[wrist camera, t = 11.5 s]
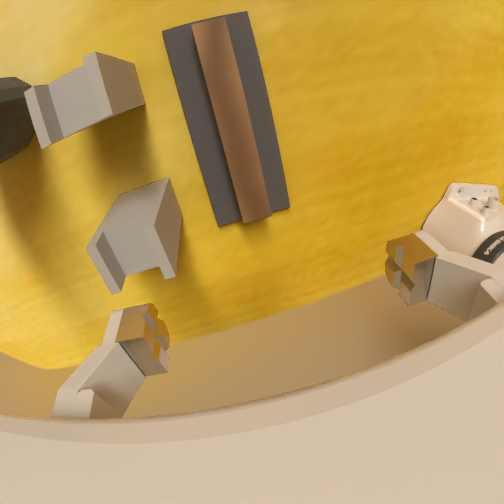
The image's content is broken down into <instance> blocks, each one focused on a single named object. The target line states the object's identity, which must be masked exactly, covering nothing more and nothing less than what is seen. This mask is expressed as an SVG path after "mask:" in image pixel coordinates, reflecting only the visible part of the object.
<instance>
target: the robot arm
mask: <svg viewBox="0 0 504 504" xmlns="http://www.w3.org/2000/svg"><path fill="white" fill-rule="evenodd" d="M386 252H387V253H388V255H389V257H388V258H387V260H386V262H385V272H386V277H387V279H388V281H389V283H390V284H391V285H392V286H393V287H395V288H397V289H399V296H400V297H401V298H402V300H403V301H404V302H405V304H406V305H407V306H411V305H414V304H416V303H419V302H422V301H424V300H427V301H429V302H431V303H432V304H434V305H436V306H438V307H440V308H442V309H443V310H445V311H447V312H449V313H451V314H452V315H454V316H456V317H458V318H460V319H461V320H463V321H465V322H466V323H464V324H462V325H460V326H458V327H456V328H455V329H453V330H451V331H449V332H447V333H445V334H443V335H441V336H439V337H437V338H435V339H432V340H431V341H428V342H426V343H424V344H422V345H420V346H417V347H415V348H413V349H411V350H408V351H406V352H404V353H401V354H399V355H397V356H394V357H392V358H389V359H387V360H385V361H382V362H379V363H377V364H374V365H372V366H369V367H366V368H364V369H361V370H358V371H355V372H352V373H349V374H347V375H344V376H341V377H338V378H335V379H331V380H328V381H325V382H322V383H319V384H315V385H312V386H309V387H305V388H302V389H298V390H295V391H291V392H287V393H283V394H279V395H275V396H271V397H267V398H262V399H258V400H253V401H249V402H244V403H239V404H234V405H229V406H223V407H218V408H212V409H205V410H199V411H192V412H185V413H176V414H167V415H159V416H147V417H134V418H122V416H123V415H124V413H125V411H126V410H127V408H128V406H129V405H130V403H131V401H132V400H133V398H134V396H135V394H136V393H137V391H138V390H139V388H140V386H141V384H142V383H143V381H144V380H145V376H150V375H156V374H161V373H167V372H168V358H169V357H168V355H167V354H166V350H167V349H168V348H169V342H170V339H169V333H168V330H167V327H166V325H165V323H164V321H163V320H161V319H159V318H157V315H158V311H157V309H156V307H155V306H154V304H151V303H149V304H144V305H139V306H134V307H129V308H125V309H120V310H116V311H113V312H112V313H111V315H110V318H109V321H108V325H107V328H106V331H105V335H104V338H103V342H102V345H99V346H97V347H96V348H95V350H94V351H93V352H92V353H91V354H90V355H89V356H88V357H87V358H86V359H85V360H84V362H83V363H82V364H81V365H80V366H79V367H78V368H77V369H76V371H75V372H74V373H73V374H72V375H71V376H70V377H69V378H68V380H67V381H66V382H65V383H64V384H63V385H62V386H61V387H60V389H59V390H58V393H57V397H56V401H55V404H54V408H53V412H52V416H51V418H44V417H31V416H21V415H12V414H5V413H0V504H504V205H502V204H501V203H500V197H499V190H498V188H497V187H496V186H495V185H486V184H472V183H451V184H450V185H449V187H448V189H447V191H446V193H445V195H444V197H443V199H442V200H441V201H440V202H439V203H438V205H437V206H436V207H435V208H434V209H433V210H432V212H431V213H430V215H429V216H428V218H427V219H426V221H425V223H424V225H423V228H422V230H420V231H417V232H414V233H411V234H410V235H407V236H403V237H400V238H397V239H393V240H390V241H388V242H387V245H386Z"/></svg>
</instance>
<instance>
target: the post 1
mask: <svg viewBox="0 0 504 504" xmlns="http://www.w3.org/2000/svg"><path fill="white" fill-rule="evenodd" d="M83 62H84V65H83V66H81V67H79V68H77V69H75V70H73V71H71V72H69V73H67V74H66V75H64V76H62V77H60V78H58V79H57V80H55V81H53V82H52V83H50V84H48V85H38V86H33V87H31V88H30V89H28V90H27V91H25V92H24V94H25V98H26V102H27V105H28V109H29V112H30V116H31V119H32V122H33V125H34V128H35V132H36V135H37V138H38V140H39V143H40V146H41V149H44V148H45V147H47V146H49V145H51V144H53V143H56V142H58V141H60V140H62V139H64V138H66V137H68V136H70V135H72V134H75V133H77V132H79V131H81V130H84V129H86V128H88V127H91V126H93V125H96V124H98V123H100V122H102V121H104V120H107V119H109V118H111V117H114V116H116V115H119V114H121V113H124V112H126V111H129V110H131V109H134V108H136V107H139V106H142V105H144V104H145V101H144V97H143V94H142V91H141V87H140V84H139V80H138V77H137V73H136V69H135V66H134V63H131V62H128V61H125V60H121V59H118V58H115V57H112V56H109V55H105V54H102V53H98V52H93V53H91V54H89V55H87V56H85V57H83Z"/></svg>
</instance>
